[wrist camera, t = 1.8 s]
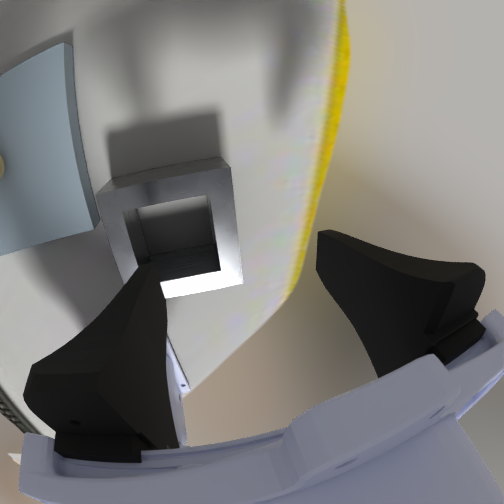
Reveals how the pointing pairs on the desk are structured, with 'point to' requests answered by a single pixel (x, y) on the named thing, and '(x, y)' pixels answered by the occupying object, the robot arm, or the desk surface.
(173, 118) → the desk surface
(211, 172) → the steel link
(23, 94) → the keeper board
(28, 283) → the desk surface
